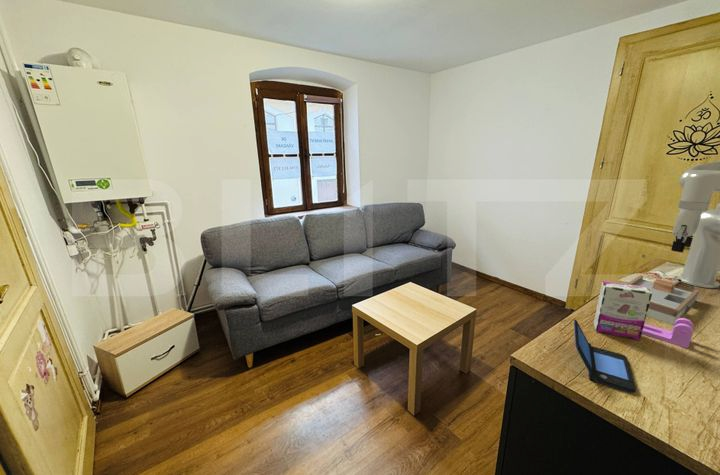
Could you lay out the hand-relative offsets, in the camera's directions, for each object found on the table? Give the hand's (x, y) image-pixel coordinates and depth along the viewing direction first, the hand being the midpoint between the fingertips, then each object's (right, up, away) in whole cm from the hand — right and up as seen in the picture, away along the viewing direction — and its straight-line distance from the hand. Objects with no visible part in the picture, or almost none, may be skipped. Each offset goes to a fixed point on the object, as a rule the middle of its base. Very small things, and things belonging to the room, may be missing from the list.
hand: (680, 248), depth 115 cm
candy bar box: (-43, -27, -20) cm, 55 cm away
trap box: (-14, -20, -3) cm, 25 cm away
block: (-7, -16, 0) cm, 17 cm away
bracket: (-31, -27, -22) cm, 47 cm away
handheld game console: (-60, -32, -34) cm, 76 cm away
